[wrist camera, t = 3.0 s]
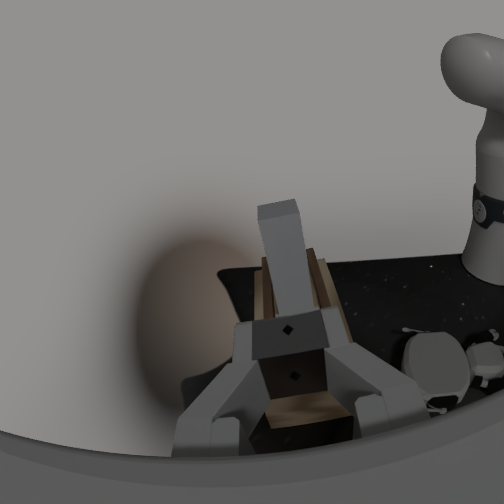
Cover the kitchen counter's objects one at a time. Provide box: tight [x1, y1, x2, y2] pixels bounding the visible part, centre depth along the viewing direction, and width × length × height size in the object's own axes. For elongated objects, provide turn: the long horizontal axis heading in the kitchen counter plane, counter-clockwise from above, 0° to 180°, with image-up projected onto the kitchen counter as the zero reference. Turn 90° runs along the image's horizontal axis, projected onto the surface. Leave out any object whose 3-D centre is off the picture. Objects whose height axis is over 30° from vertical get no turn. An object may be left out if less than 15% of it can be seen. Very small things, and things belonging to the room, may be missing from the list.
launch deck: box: [255, 248, 353, 429], centre depth 39 cm, size 10×20×11 cm, turn 0°
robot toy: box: [401, 328, 504, 414], centre depth 30 cm, size 12×4×15 cm
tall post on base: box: [258, 199, 319, 317], centre depth 28 cm, size 4×4×15 cm
